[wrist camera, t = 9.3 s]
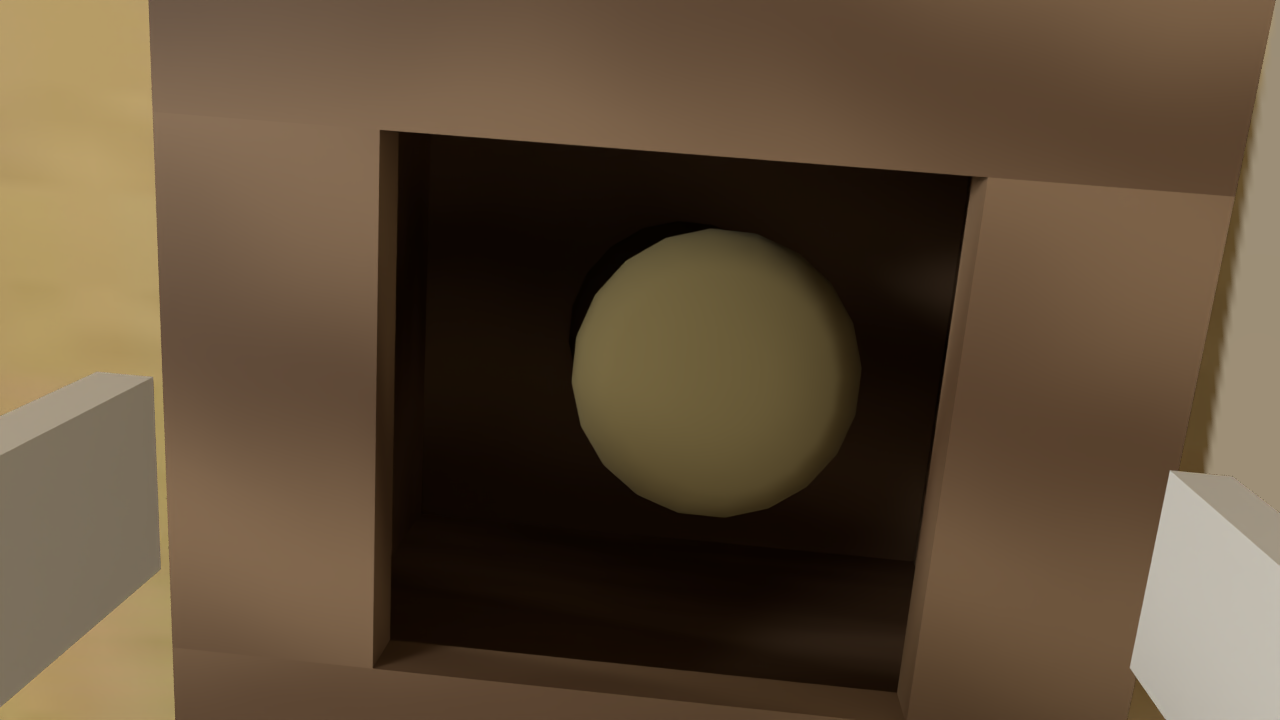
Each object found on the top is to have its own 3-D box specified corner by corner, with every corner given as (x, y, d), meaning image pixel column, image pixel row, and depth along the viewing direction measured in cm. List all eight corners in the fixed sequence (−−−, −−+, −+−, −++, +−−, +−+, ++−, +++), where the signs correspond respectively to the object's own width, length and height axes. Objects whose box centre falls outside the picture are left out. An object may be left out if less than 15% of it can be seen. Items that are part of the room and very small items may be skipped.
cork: (828, 401, 29) (956, 488, 18) (616, 480, 29) (619, 614, 19) (750, 187, 29) (835, 146, 18) (535, 268, 29) (488, 277, 18)
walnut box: (940, 589, 31) (1084, 926, 19) (391, 535, 32) (179, 823, 20) (1030, 4, 27) (1288, -62, 15) (401, -40, 28) (143, -137, 16)
